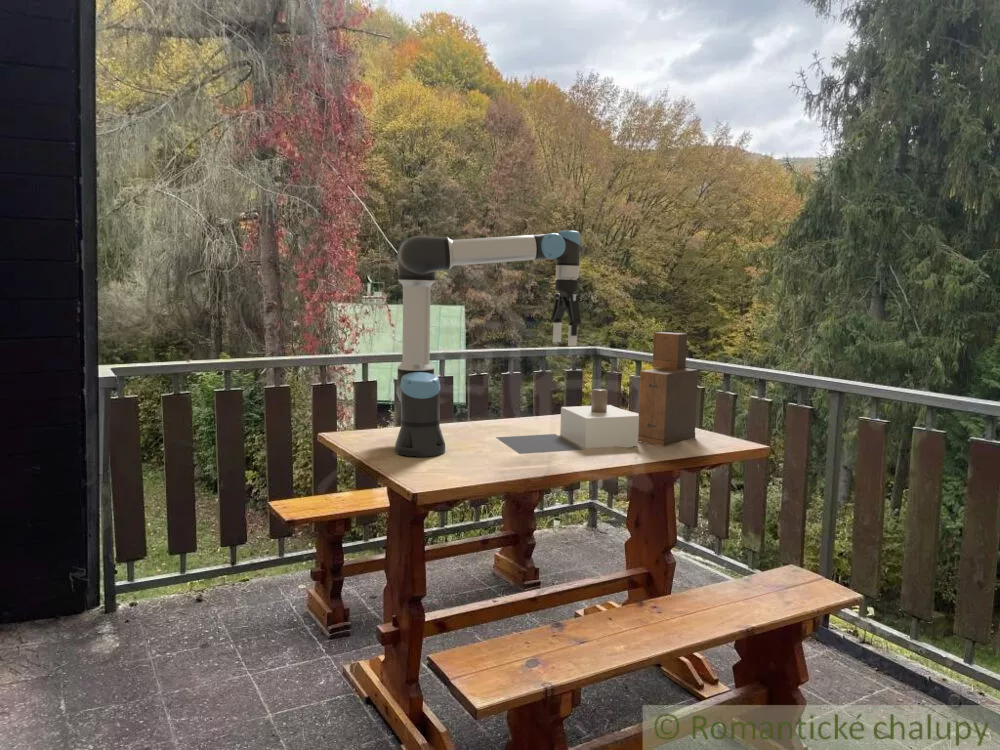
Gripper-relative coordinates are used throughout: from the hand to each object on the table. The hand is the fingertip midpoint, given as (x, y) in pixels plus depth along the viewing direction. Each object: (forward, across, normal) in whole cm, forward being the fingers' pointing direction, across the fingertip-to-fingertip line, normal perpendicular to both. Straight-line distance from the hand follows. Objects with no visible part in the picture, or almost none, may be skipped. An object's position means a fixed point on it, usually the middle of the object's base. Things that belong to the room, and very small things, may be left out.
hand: (564, 344), depth 241 cm
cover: (+31, -9, -10) cm, 34 cm away
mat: (+31, -10, +11) cm, 35 cm away
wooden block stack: (+31, -10, -34) cm, 47 cm away
